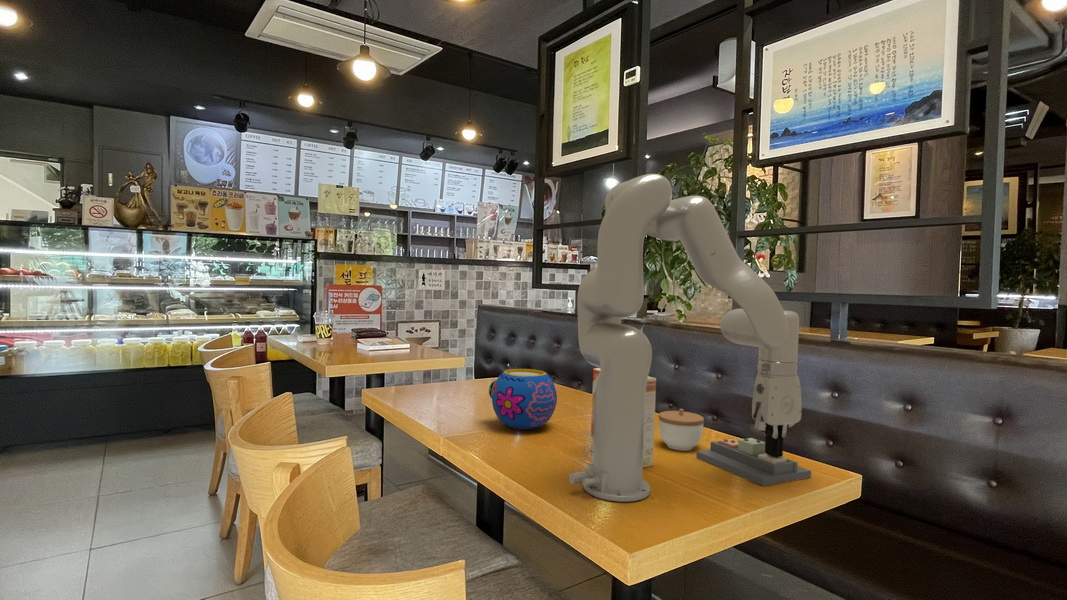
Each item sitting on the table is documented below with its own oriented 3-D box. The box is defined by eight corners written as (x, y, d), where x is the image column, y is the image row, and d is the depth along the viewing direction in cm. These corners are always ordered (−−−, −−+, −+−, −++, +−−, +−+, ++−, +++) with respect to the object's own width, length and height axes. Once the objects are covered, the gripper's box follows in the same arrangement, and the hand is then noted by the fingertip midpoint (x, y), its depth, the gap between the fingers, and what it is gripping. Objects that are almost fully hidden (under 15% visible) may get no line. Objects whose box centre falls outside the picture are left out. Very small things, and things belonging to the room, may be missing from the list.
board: (763, 486, 110) (763, 469, 110) (696, 457, 127) (697, 442, 127) (810, 477, 116) (811, 461, 116) (741, 451, 133) (741, 437, 133)
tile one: (773, 471, 114) (773, 458, 114) (757, 465, 118) (758, 453, 117) (786, 469, 116) (787, 456, 116) (770, 463, 119) (771, 451, 119)
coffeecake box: (588, 450, 130) (591, 368, 129) (613, 447, 133) (616, 366, 133) (627, 470, 117) (631, 379, 116) (654, 466, 120) (657, 377, 119)
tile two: (752, 455, 119) (752, 443, 119) (738, 450, 122) (738, 438, 122) (765, 453, 121) (766, 441, 121) (751, 448, 124) (751, 436, 124)
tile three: (732, 456, 124) (733, 444, 124) (719, 450, 127) (719, 439, 127) (745, 454, 126) (746, 442, 126) (732, 449, 129) (732, 437, 129)
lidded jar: (692, 456, 128) (694, 416, 127) (650, 447, 134) (651, 409, 134) (709, 446, 136) (710, 409, 136) (668, 438, 143) (669, 402, 142)
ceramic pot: (527, 416, 161) (529, 365, 161) (569, 430, 147) (571, 374, 147) (477, 424, 150) (479, 369, 149) (517, 440, 136) (519, 379, 136)
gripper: (766, 373, 109) (762, 465, 110) (817, 370, 116) (813, 456, 117) (737, 367, 116) (733, 454, 117) (786, 364, 123) (783, 446, 123)
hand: (773, 454), depth 117 cm, fingers closed
